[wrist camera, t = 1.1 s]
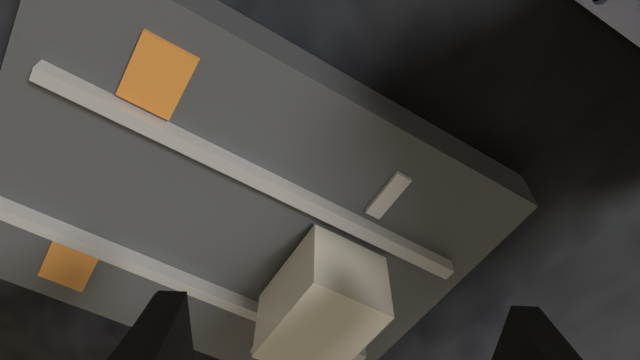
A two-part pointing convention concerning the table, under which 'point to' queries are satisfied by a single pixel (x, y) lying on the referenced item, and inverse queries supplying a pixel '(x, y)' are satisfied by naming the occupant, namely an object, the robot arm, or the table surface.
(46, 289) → the panel
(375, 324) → the block
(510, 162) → the table surface
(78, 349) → the table surface
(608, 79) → the table surface
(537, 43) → the table surface
